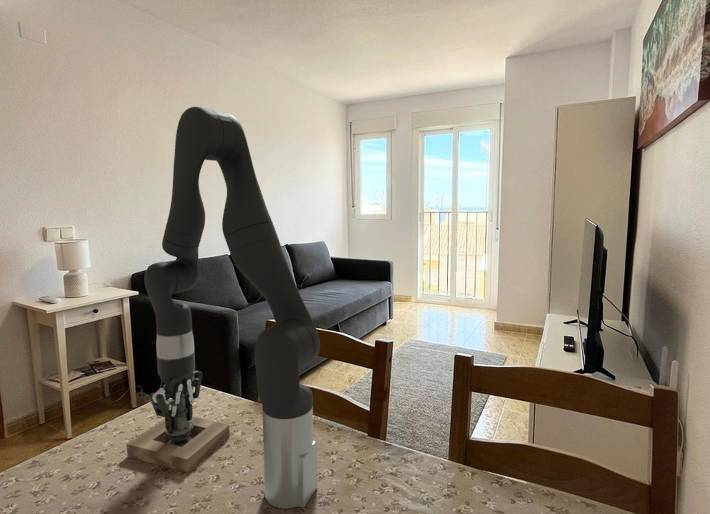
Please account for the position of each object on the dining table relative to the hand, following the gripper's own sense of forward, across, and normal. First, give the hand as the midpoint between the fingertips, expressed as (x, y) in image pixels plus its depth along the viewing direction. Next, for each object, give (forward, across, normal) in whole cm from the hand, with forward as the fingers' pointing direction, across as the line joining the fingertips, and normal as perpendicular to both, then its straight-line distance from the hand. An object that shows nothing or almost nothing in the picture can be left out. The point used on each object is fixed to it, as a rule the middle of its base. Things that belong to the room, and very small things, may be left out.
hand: (179, 424), depth 93 cm
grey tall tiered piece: (+4, 0, 0) cm, 4 cm away
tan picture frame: (+5, 0, 0) cm, 5 cm away
